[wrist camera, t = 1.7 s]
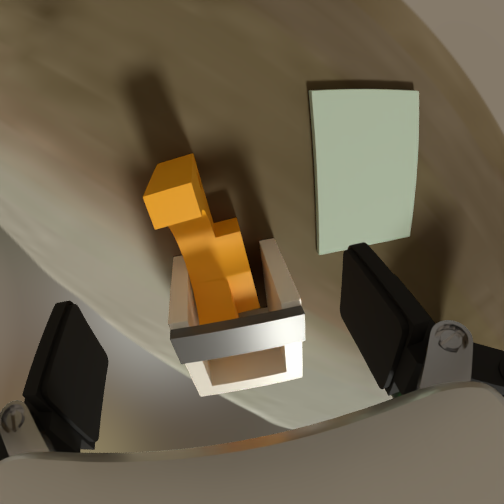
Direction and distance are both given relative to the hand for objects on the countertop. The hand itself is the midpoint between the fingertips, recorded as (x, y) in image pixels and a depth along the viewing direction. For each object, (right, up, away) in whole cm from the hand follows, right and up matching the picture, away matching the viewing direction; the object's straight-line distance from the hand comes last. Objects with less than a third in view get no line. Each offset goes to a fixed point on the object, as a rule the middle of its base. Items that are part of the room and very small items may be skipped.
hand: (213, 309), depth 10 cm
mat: (+10, +8, +13) cm, 18 cm away
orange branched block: (-2, +4, +14) cm, 14 cm away
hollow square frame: (-1, -1, +16) cm, 16 cm away
